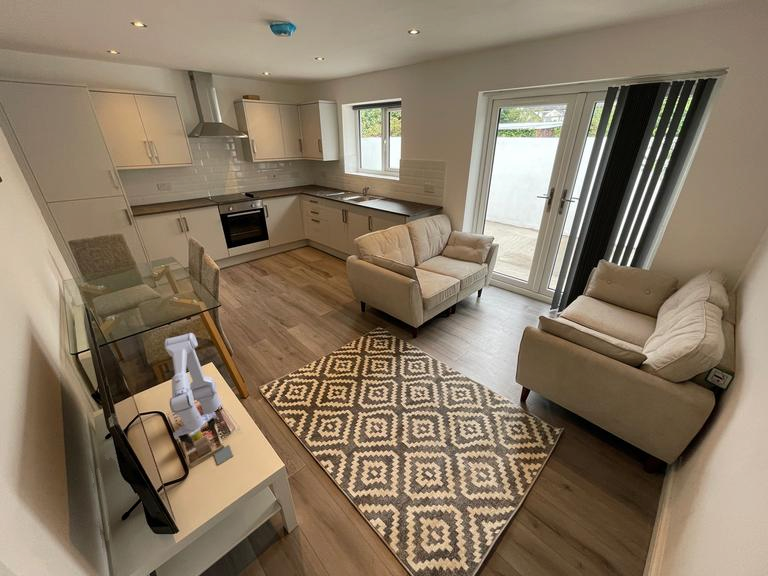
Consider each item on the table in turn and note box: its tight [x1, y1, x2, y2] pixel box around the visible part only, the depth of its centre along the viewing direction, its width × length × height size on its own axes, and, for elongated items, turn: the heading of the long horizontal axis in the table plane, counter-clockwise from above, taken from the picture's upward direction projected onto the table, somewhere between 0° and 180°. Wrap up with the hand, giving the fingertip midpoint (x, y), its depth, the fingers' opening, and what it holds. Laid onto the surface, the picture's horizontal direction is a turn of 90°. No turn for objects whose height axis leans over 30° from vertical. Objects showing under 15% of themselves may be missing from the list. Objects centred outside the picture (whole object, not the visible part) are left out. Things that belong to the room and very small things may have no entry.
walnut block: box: [193, 435, 213, 458], centre depth 127 cm, size 4×4×6 cm
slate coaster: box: [213, 444, 234, 466], centre depth 126 cm, size 6×6×1 cm
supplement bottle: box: [188, 431, 204, 446], centre depth 130 cm, size 5×5×10 cm
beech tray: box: [182, 422, 225, 469], centre depth 130 cm, size 15×13×2 cm
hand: (202, 437), depth 123 cm, fingers open, 7 cm apart
